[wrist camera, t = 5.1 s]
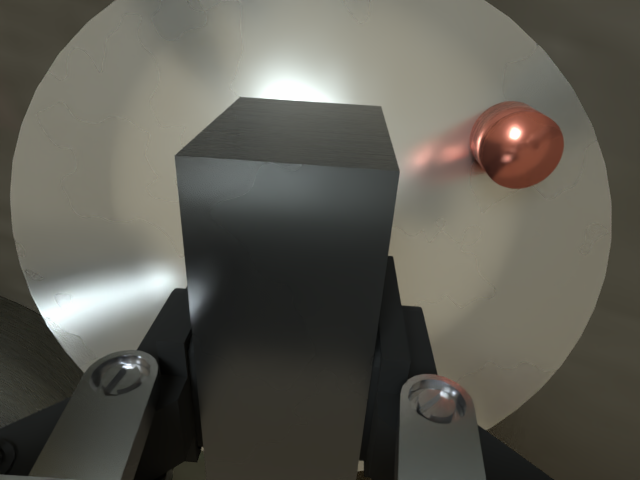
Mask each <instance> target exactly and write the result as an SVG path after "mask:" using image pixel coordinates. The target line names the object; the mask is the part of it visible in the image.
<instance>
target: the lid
mask: <svg viewBox="0 0 640 480" xmlns="http://www.w3.org/2000/svg"><path fill="white" fill-rule="evenodd" d="M10 204H11V217H12V230H13V235H14V240H15V244H16V249H17V253H18V258H19V262H20V266H21V268H22V271H23V274H24V277H25V279H26V282H27V285H28V287H29V290H30V293H31V295H32V297H33V299H34V301H35V303H36V305H37V307H38V309H39V311H40V313H41V315H42V317H43V318H44V320H45V322H46V324H47V325H48V327H49V328H50V330H51V331H52V333H53V334H54V336H55V337H56V339H57V340H58V342H59V343H60V345H61V346H62V348H63V349H64V350H65V351H66V353H67V354H68V355H69V356H70V357H71V358H72V360H73V361H74V362H75V363H76V364H77V365H78V367H79V368H80V369H81V370H82V371H83V372H84V373H85V372H86V370H87V369H88V368H89V366H91V365H92V364H93V363H94V362H96V361H97V360H98V359H100V358H102V357H104V356H106V355H108V354H111V353H115V352H118V351H125V350H137V348H138V347H139V345H140V343H141V342H142V340H143V338H144V337H145V335H146V334H147V332H148V330H149V329H150V327H151V325H152V324H153V322H154V320H155V319H156V317H157V315H158V314H159V312H160V310H161V309H162V307H163V306H164V304H165V302H166V301H167V299H168V297H169V296H170V294H171V292H172V291H173V290H174V289H175V288H185V289H186V287H188V297H189V307H190V317H191V327H192V337H193V347H194V358H195V368H196V378H197V388H198V398H199V408H200V418H201V428H202V438H203V447H202V449H201V450H203V451H204V458H205V468H206V479H207V480H356V478H357V471H364V461H359V457H360V449H361V442H362V435H363V428H364V421H365V414H366V407H367V400H368V393H369V386H370V379H371V372H372V365H373V358H374V351H375V344H376V337H377V330H378V323H379V315H380V308H381V301H382V294H383V287H384V280H385V273H386V266H387V259H388V256H393V258H394V264H395V270H396V276H397V282H398V288H399V294H400V299H401V305H405V306H418V307H421V308H422V310H423V314H424V318H425V323H426V327H427V331H428V335H429V340H430V344H431V348H432V352H433V357H434V361H435V365H436V370H437V374H438V375H439V376H443V377H446V378H448V379H450V380H452V381H454V382H456V383H458V384H459V385H460V386H461V387H463V388H464V389H465V390H466V391H467V393H468V394H469V395H470V397H471V398H472V401H473V404H474V406H475V412H476V419H477V425H479V426H480V427H482V428H483V429H484V430H487V429H489V428H491V427H493V426H494V425H496V424H497V423H498V422H500V421H501V420H503V419H504V418H506V417H507V416H508V415H510V414H511V413H513V412H514V411H516V410H517V409H518V408H519V407H520V406H522V405H523V404H524V403H525V402H526V401H527V400H528V399H529V398H531V397H532V396H533V395H534V394H535V393H536V392H537V391H538V390H540V389H541V388H542V387H543V385H544V384H545V383H546V382H547V381H548V380H549V379H550V378H551V376H552V375H553V374H554V373H555V372H556V371H557V370H558V368H559V367H560V366H561V365H562V364H563V362H564V361H565V359H566V358H567V356H568V355H569V353H570V352H571V350H572V349H573V348H574V346H575V345H576V343H577V342H578V340H579V339H580V337H581V335H582V333H583V331H584V329H585V327H586V325H587V323H588V321H589V319H590V317H591V315H592V313H593V311H594V309H595V306H596V303H597V300H598V297H599V294H600V291H601V288H602V284H603V281H604V278H605V275H606V269H607V263H608V257H609V251H610V245H611V197H610V191H609V185H608V178H607V172H606V165H605V162H604V159H603V156H602V153H601V150H600V147H599V144H598V141H597V138H596V135H595V132H594V129H593V126H592V124H591V122H590V120H589V118H588V116H587V114H586V113H585V111H584V109H583V107H582V105H581V103H580V101H579V99H578V97H577V95H576V94H575V92H574V90H573V88H572V86H571V85H570V84H569V82H568V81H567V80H566V79H565V77H564V76H563V75H562V73H561V72H560V71H559V69H558V68H557V67H556V65H555V64H554V63H553V61H552V60H551V59H550V57H549V56H548V55H547V53H546V52H545V51H544V50H543V49H542V48H541V47H540V46H539V45H538V44H537V43H536V42H535V41H534V40H533V39H532V38H531V37H529V36H528V35H527V34H526V33H525V32H524V31H523V30H522V29H521V28H520V27H519V26H518V25H517V24H516V23H515V22H514V21H513V20H512V19H511V18H509V17H508V16H507V15H505V14H504V13H502V12H501V11H499V10H498V9H496V8H495V7H493V6H492V5H491V4H489V3H488V2H486V1H485V0H115V1H114V2H113V3H111V4H110V5H109V6H108V7H106V8H105V9H104V10H103V11H101V12H100V13H99V14H97V15H96V16H95V17H94V18H92V19H91V20H90V21H89V22H87V23H86V25H85V26H84V27H83V28H82V29H81V30H80V31H79V32H78V33H77V34H76V36H75V37H74V38H73V39H72V40H71V41H70V42H69V43H68V44H67V46H66V47H65V48H64V49H63V50H62V51H61V52H60V53H59V54H58V56H57V57H56V59H55V61H54V62H53V64H52V65H51V67H50V68H49V70H48V72H47V73H46V75H45V76H44V78H43V80H42V81H41V83H40V84H39V86H38V87H37V89H36V91H35V94H34V96H33V98H32V101H31V103H30V106H29V108H28V110H27V113H26V115H25V117H24V120H23V122H22V125H21V128H20V133H19V137H18V141H17V145H16V149H15V154H14V158H13V163H12V177H11V190H10Z"/></svg>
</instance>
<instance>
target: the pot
mask: <svg viewBox="0 0 640 480" xmlns="http://www.w3.org/2000/svg"><path fill="white" fill-rule="evenodd" d="M83 374H84V372H83V371H82V370H81V369H80V368H79V367H78V365H77V364H76V363H75V362H74V361H73V360H72V358H71V357H70V356H69V355H68V354H67V353H66V351H65V350H64V349H63V348H62V346H61V345H60V343H59V342H58V340H57V339H56V337H55V336H54V334H53V333H52V331H51V330H50V328H49V327H48V325H47V324H46V322H45V320H44V318H43V317H42V316H41V315H39V314H37V313H35V312H33V311H32V310H30V309H28V308H26V307H24V306H22V305H20V304H17V303H15V302H13V301H10V300H8V299H5V298H3V297H0V428H2V427H5V426H7V425H9V424H11V423H13V422H16V421H18V420H20V419H22V418H25V417H27V416H29V415H31V414H33V413H36V412H38V411H40V410H42V409H45V408H47V407H49V406H51V405H53V404H56V403H58V402H60V401H62V400H65V399H67V398H69V397H71V396H72V394H73V392H74V391H75V389H76V387H77V385H78V383H79V381H80V380H81V378H82V376H83Z"/></svg>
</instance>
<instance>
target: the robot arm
mask: <svg viewBox="0 0 640 480" xmlns="http://www.w3.org/2000/svg"><path fill="white" fill-rule="evenodd" d="M202 447H203V438H202V428H201V418H200V408H199V398H198V388H197V378H196V368H195V358H194V347H193V337H192V327H191V317H190V307H189V297H188V287H186V289H185V288H175V289H174V290H173V291H172V292H171V294H170V296H169V297H168V299H167V301H166V302H165V304H164V306H163V307H162V309H161V310H160V312H159V314H158V315H157V317H156V319H155V320H154V322H153V324H152V325H151V327H150V329H149V330H148V332H147V334H146V335H145V337H144V338H143V340H142V342H141V343H140V345H139V347H138V348H137V350H125V351H118V352H115V353H111V354H108V355H106V356H104V357H102V358H100V359H98V360H97V361H96V362H94V363H93V364H92V365H91V366H89V368H88V369H87V370H86V372H85V373H84V374H83V376H82V378H81V380H80V381H79V383H78V385H77V387H76V389H75V391H74V392H73V394H72V396H71V397H69V398H67V399H65V400H62V401H60V402H58V403H56V404H53V405H51V406H49V407H47V408H45V409H42V410H40V411H38V412H36V413H33V414H31V415H29V416H27V417H25V418H22V419H20V420H18V421H16V422H13V423H11V424H9V425H7V426H5V427H2V428H0V480H172V478H173V468H174V467H176V466H177V465H179V464H181V463H182V462H184V461H188V462H197V461H198V458H199V455H200V452H201V449H202ZM359 461H364V477H370V478H371V479H372V480H554V479H552V478H551V477H549V476H548V475H547V474H545V473H544V472H543V471H541V470H540V469H538V468H537V467H536V466H534V465H533V464H531V463H530V462H529V461H527V460H526V459H525V458H523V457H522V456H520V455H519V454H518V453H516V452H515V451H513V450H512V449H511V448H509V447H508V446H507V445H505V444H504V443H502V442H501V441H500V440H498V439H497V438H495V437H494V436H493V435H491V434H490V433H489V432H487V431H486V430H484V429H483V428H482V427H480V426H479V425H477V419H476V412H475V406H474V404H473V401H472V398H471V397H470V395H469V394H468V393H467V391H466V390H465V389H464V388H463V387H461V386H460V385H459V384H458V383H456V382H454V381H452V380H450V379H448V378H446V377H443V376H439V375H438V374H437V370H436V365H435V361H434V357H433V352H432V348H431V344H430V340H429V335H428V331H427V327H426V323H425V318H424V314H423V310H422V308H421V307H418V306H405V305H401V299H400V294H399V288H398V282H397V276H396V270H395V264H394V258H393V256H388V259H387V266H386V273H385V280H384V287H383V294H382V301H381V308H380V315H379V323H378V330H377V337H376V344H375V351H374V358H373V365H372V372H371V379H370V386H369V393H368V400H367V407H366V414H365V421H364V428H363V435H362V442H361V449H360V457H359Z"/></svg>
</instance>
